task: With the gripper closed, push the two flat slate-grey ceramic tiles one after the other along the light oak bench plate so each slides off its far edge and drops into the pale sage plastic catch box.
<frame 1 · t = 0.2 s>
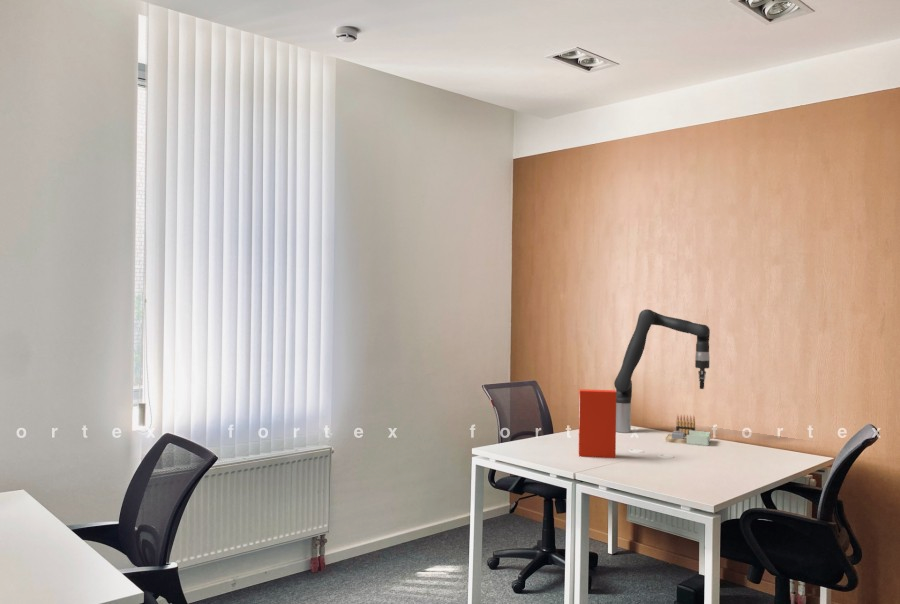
hand: (701, 388, 377), 29 cm above the table, fingers open, 8 cm apart
catch box: (698, 442, 364), on the table
ammunition clip: (685, 435, 386), on the table
bench plate: (677, 440, 369), on the table
tile a: (679, 436, 372), point 2 cm above the table, touching bench plate
file binder: (596, 456, 326), on the table
tile b: (677, 438, 366), point 2 cm above the table, touching bench plate
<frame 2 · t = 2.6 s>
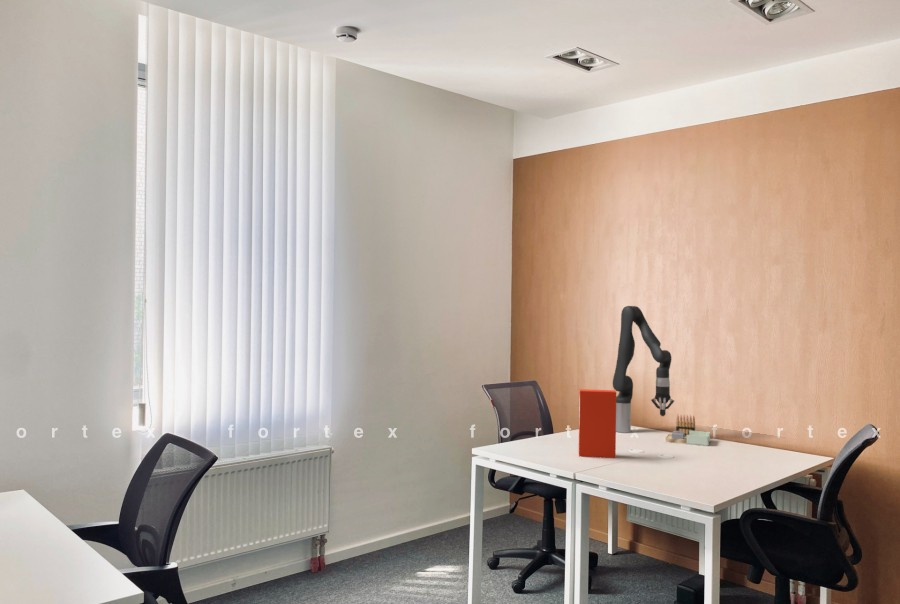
hand: (662, 416, 376), 13 cm above the table, fingers closed
nothing on the table moved.
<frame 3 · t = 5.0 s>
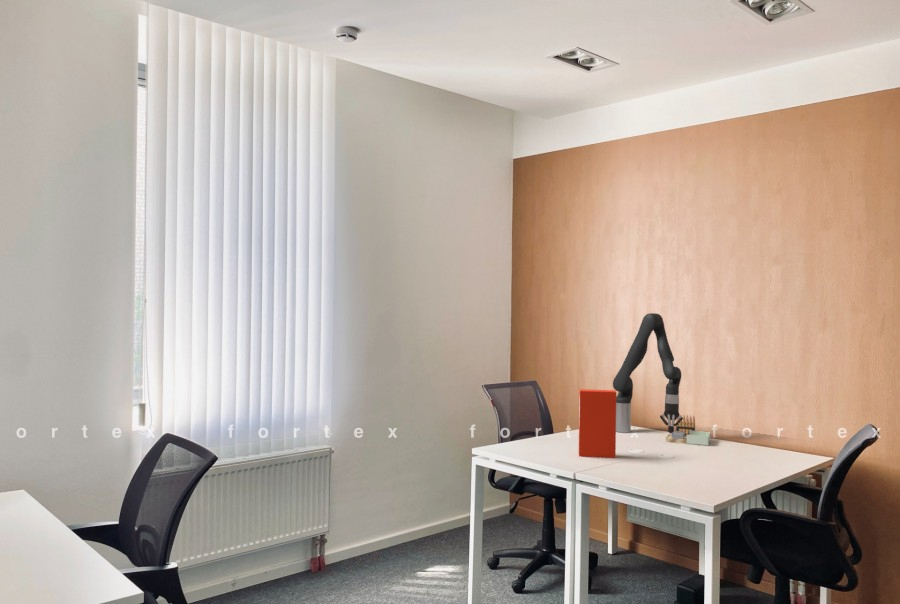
hand: (670, 432, 374), 3 cm above the table, fingers closed
tile a: (679, 436, 372), point 2 cm above the table, touching bench plate, gripper
everything else where it was.
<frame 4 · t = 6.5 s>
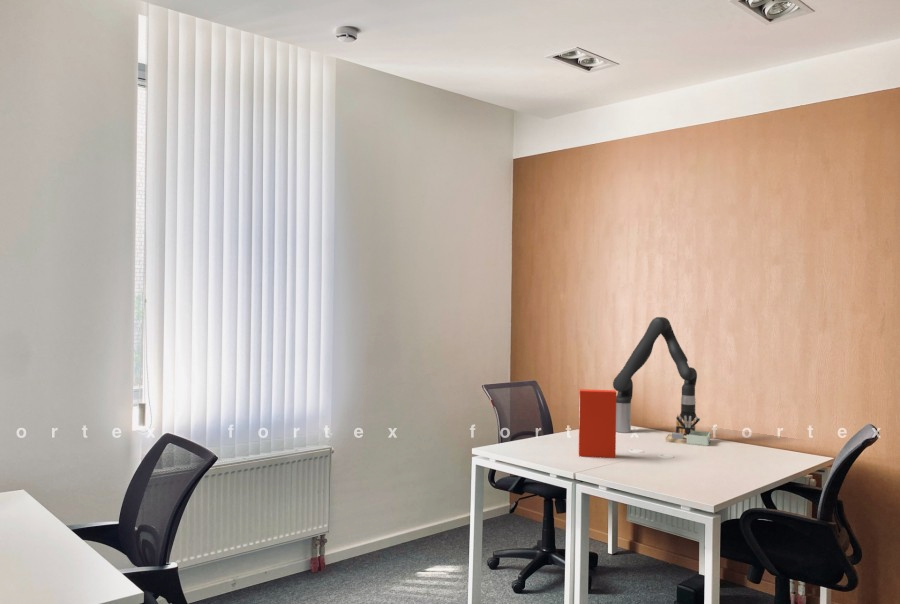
hand: (687, 434, 370), 3 cm above the table, fingers closed
tile a: (694, 439, 369), point 1 cm above the table, tilted 9°, touching gripper
everything else where it was.
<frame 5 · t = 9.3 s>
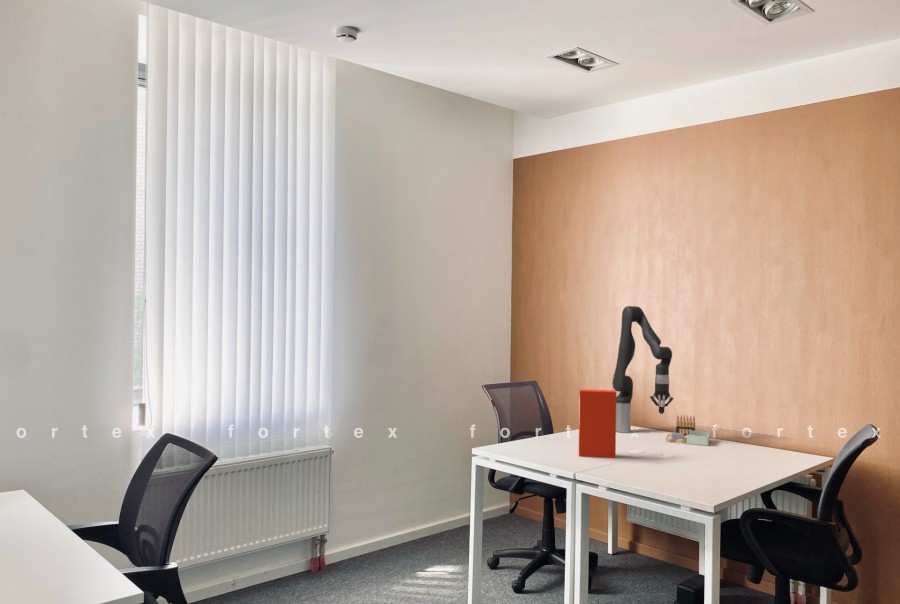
hand: (661, 413, 370), 15 cm above the table, fingers closed
tile a: (695, 440, 369), resting on catch box
everything else where it was.
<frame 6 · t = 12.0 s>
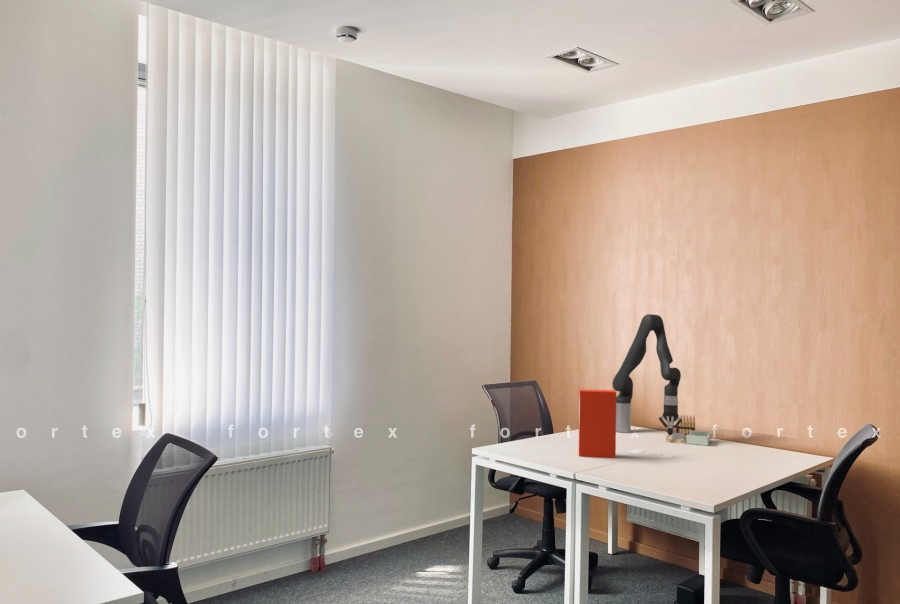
hand: (670, 434, 367), 3 cm above the table, fingers closed
tile b: (678, 438, 365), point 2 cm above the table, touching bench plate, gripper
everything else where it was.
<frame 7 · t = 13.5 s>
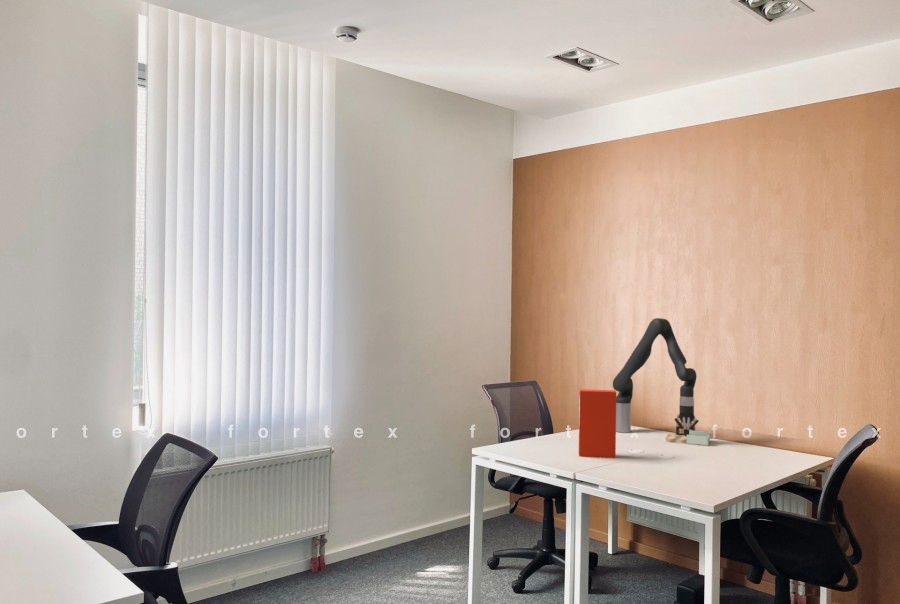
hand: (686, 436, 364), 4 cm above the table, fingers closed
tile b: (693, 441, 362), point 1 cm above the table, tilted 14°, touching bench plate, catch box, gripper
everything else where it was.
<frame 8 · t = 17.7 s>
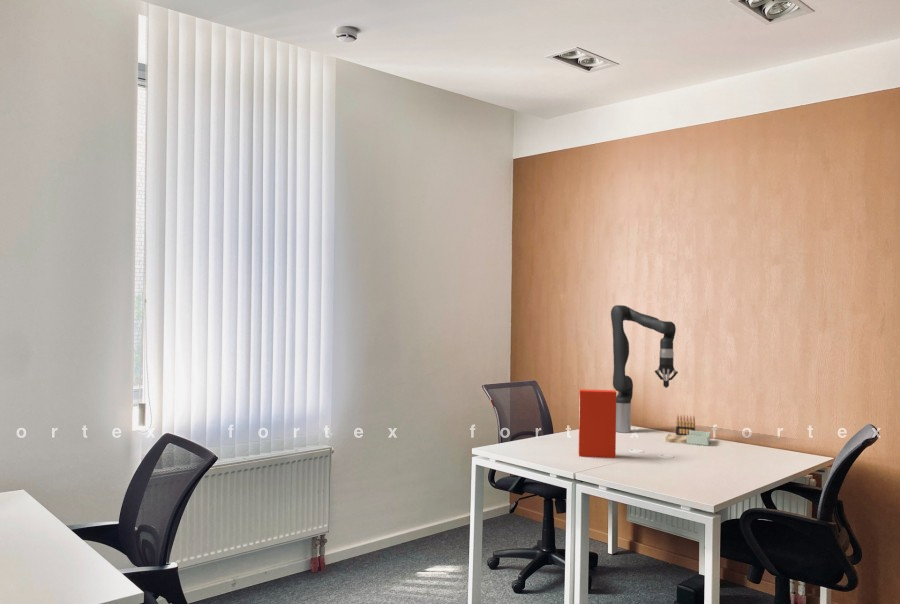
hand: (666, 387, 374), 29 cm above the table, fingers closed
tile b: (694, 442, 361), resting on catch box
everything else where it was.
at the end: tile a inside the target area (4.3 cm from its centre), point 0.5 cm above the table; tile b inside the target area (4.6 cm from its centre), point 0.5 cm above the table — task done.
